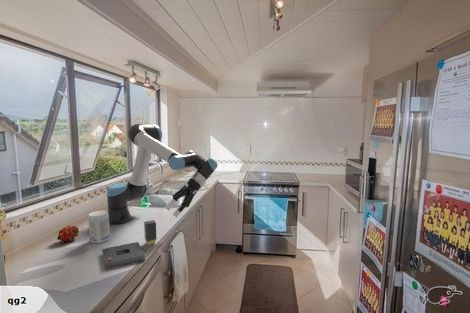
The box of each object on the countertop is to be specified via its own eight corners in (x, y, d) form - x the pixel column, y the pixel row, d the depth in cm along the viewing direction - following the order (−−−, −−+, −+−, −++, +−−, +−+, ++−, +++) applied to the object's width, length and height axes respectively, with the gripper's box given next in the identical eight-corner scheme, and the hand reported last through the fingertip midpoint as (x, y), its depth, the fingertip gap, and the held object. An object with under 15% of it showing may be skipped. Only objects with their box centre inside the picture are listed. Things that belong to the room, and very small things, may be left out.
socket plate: (102, 254, 123) (102, 247, 123) (138, 246, 132) (137, 240, 131) (105, 269, 110) (105, 262, 109) (145, 260, 118) (144, 253, 118)
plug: (144, 242, 136) (144, 221, 135) (154, 240, 139) (154, 220, 138) (146, 245, 133) (145, 224, 132) (156, 243, 135) (156, 222, 134)
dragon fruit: (81, 238, 144) (60, 251, 134) (70, 229, 146) (49, 240, 135) (85, 228, 141) (65, 240, 130) (74, 218, 142) (53, 229, 131)
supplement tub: (110, 235, 146) (108, 209, 144) (110, 241, 137) (108, 214, 136) (90, 238, 141) (88, 211, 140) (89, 245, 133) (87, 217, 131)
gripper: (210, 190, 137) (183, 223, 131) (192, 182, 158) (168, 210, 152) (200, 181, 134) (172, 214, 127) (183, 174, 155) (159, 202, 149)
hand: (170, 212), depth 140 cm, fingers open, 13 cm apart
